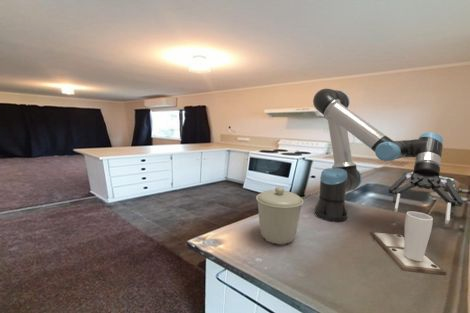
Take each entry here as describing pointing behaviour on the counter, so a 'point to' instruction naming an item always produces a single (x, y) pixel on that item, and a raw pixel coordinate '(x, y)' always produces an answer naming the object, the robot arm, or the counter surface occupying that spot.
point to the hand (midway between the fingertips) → (420, 215)
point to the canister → (279, 215)
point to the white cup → (416, 235)
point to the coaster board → (395, 250)
